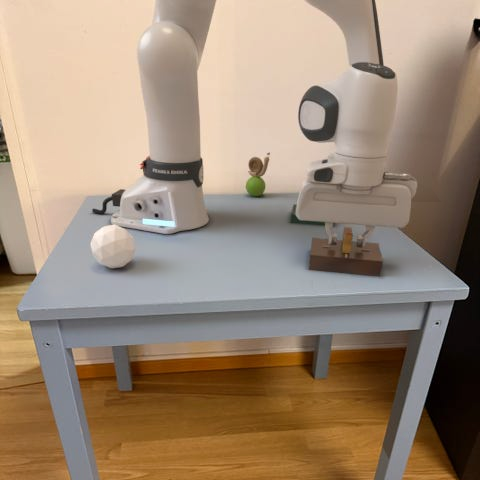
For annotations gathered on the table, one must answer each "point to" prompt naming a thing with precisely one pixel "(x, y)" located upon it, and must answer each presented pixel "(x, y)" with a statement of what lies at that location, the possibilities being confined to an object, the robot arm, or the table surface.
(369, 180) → the robot arm
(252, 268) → the table surface
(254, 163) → the snail figurine
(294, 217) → the block
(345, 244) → the lock turn
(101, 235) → the geometric ball
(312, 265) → the plate
